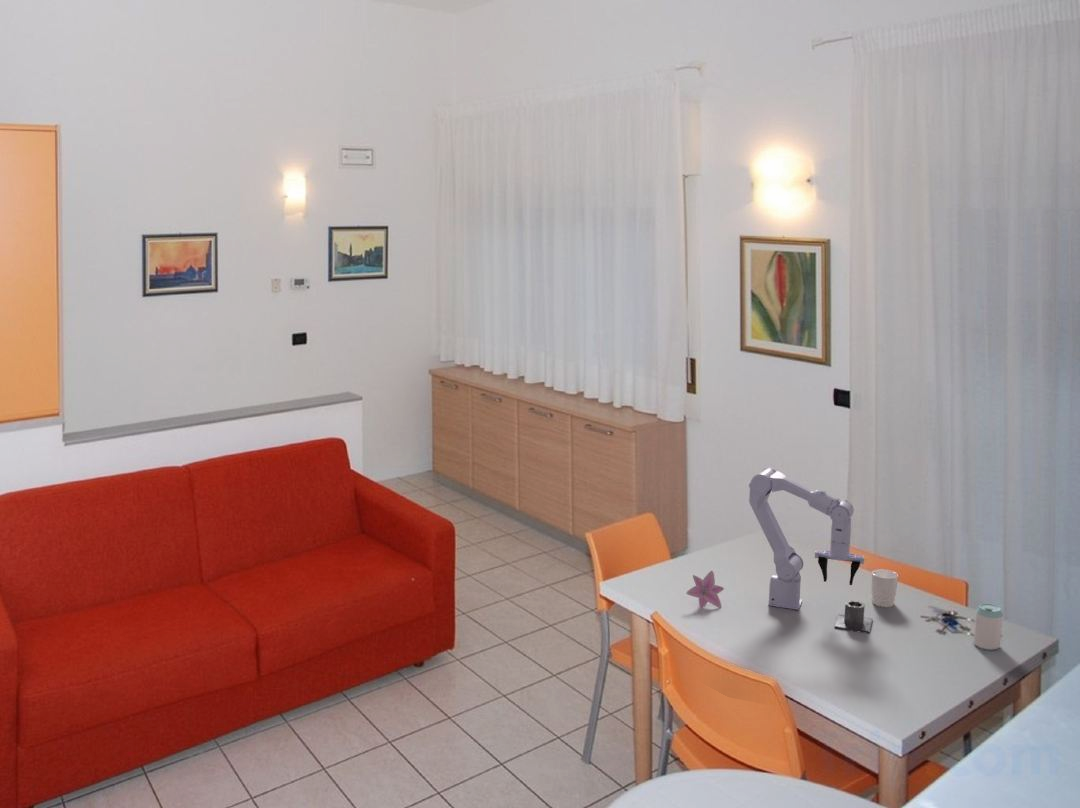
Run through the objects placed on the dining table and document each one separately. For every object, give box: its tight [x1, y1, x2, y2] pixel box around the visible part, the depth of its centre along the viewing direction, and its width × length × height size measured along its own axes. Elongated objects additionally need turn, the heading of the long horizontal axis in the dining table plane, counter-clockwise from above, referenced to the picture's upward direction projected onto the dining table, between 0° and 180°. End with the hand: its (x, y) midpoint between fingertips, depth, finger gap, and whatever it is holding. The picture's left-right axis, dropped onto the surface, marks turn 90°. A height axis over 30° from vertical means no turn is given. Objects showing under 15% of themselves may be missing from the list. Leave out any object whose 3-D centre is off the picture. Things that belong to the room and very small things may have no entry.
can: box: [972, 603, 1004, 651], centre depth 290 cm, size 7×7×12 cm
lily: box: [686, 570, 725, 610], centre depth 321 cm, size 12×12×10 cm
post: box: [834, 605, 873, 634], centre depth 306 cm, size 10×10×6 cm
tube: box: [844, 599, 866, 627], centre depth 305 cm, size 5×5×6 cm
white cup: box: [871, 568, 899, 608], centre depth 321 cm, size 8×8×10 cm
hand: (838, 582), depth 312 cm, fingers open, 7 cm apart
